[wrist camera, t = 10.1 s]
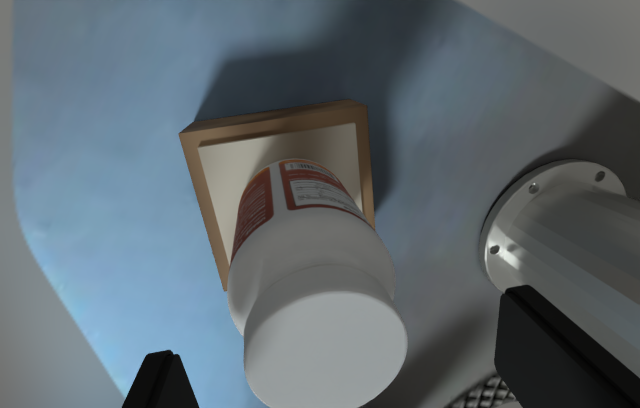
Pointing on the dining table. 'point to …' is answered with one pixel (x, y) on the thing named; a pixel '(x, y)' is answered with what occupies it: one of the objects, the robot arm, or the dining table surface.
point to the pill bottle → (312, 292)
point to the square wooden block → (273, 159)
